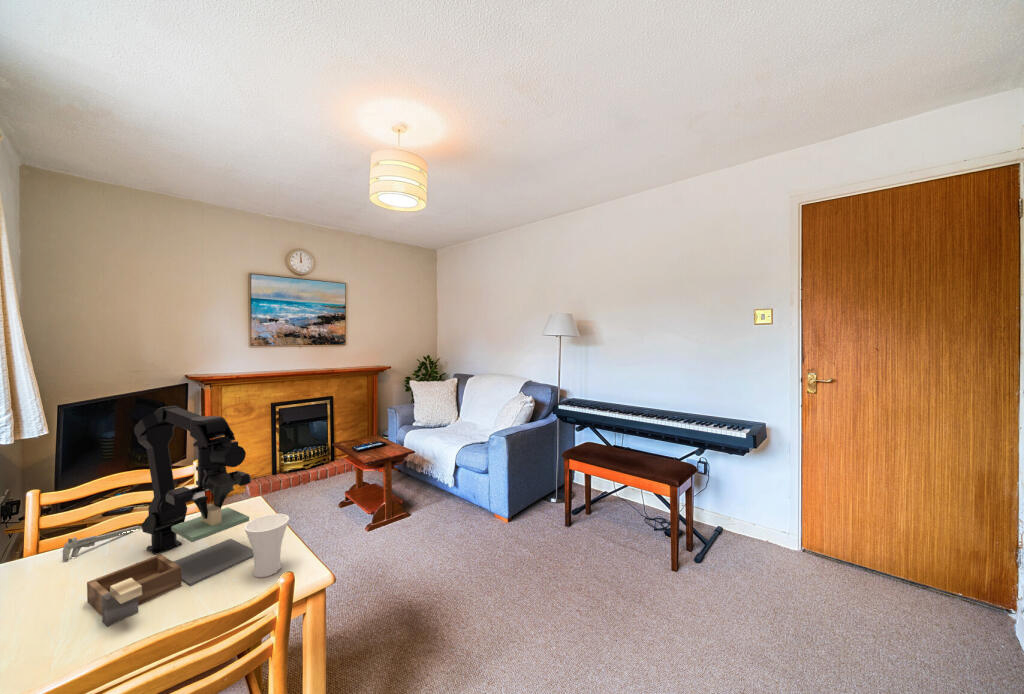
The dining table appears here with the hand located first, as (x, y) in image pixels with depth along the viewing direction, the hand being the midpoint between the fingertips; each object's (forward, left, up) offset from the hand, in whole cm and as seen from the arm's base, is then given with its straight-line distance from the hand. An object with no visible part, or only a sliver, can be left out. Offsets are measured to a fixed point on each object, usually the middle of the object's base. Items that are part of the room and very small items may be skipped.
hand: (211, 516), depth 112 cm
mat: (0, 0, -13) cm, 13 cm away
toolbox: (+2, -17, -13) cm, 21 cm away
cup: (+18, +5, -13) cm, 23 cm away
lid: (0, 0, -3) cm, 3 cm away
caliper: (-39, -11, -13) cm, 43 cm away
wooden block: (+11, -21, -7) cm, 25 cm away
